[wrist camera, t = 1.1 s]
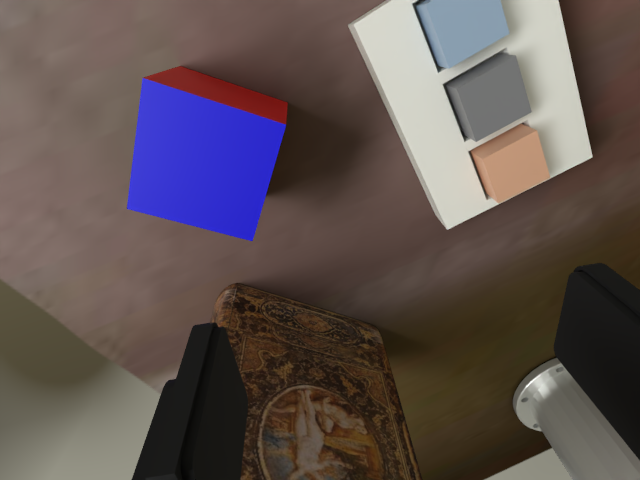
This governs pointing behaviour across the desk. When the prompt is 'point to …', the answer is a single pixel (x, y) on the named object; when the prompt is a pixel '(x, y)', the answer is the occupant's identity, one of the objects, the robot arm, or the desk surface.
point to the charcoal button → (489, 96)
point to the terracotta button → (511, 163)
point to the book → (314, 392)
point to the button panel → (436, 107)
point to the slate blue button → (461, 27)
